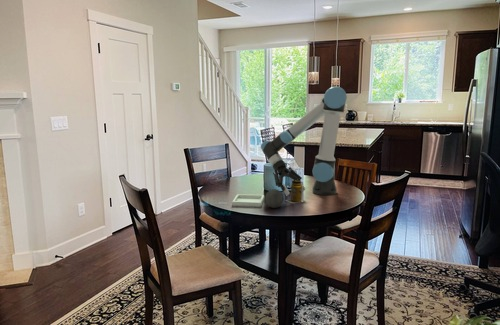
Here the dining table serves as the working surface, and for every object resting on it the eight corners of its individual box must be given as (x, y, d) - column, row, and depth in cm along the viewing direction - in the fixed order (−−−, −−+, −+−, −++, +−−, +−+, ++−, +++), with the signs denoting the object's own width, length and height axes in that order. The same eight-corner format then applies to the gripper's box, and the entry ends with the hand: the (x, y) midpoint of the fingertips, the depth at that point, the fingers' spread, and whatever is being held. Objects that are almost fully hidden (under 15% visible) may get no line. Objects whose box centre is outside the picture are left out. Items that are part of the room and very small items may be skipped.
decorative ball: (261, 208, 189) (261, 190, 187) (271, 203, 197) (271, 186, 196) (278, 211, 184) (278, 193, 182) (287, 206, 192) (287, 188, 190)
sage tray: (264, 199, 207) (264, 195, 206) (261, 207, 191) (261, 202, 191) (237, 198, 209) (237, 194, 209) (232, 206, 194) (232, 201, 193)
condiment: (304, 201, 202) (305, 181, 200) (293, 203, 197) (293, 183, 195) (296, 198, 208) (296, 178, 206) (285, 200, 203) (285, 180, 201)
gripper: (288, 164, 219) (306, 192, 211) (259, 169, 203) (277, 200, 195) (295, 157, 215) (313, 185, 206) (265, 161, 198) (284, 192, 190)
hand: (296, 192), depth 200 cm, fingers open, 13 cm apart
